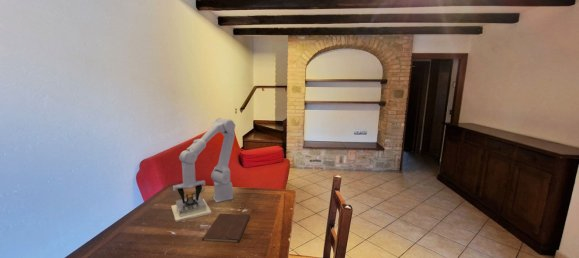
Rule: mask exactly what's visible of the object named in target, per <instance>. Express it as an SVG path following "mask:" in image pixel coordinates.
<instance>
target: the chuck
mask: <svg viewBox="0 0 579 258" xmlns="http://www.w3.org/2000/svg"><path fill="white" fill-rule="evenodd" d="M203 199H204V198H203V197H202V196H201V195H199V198H198V201H197V200H196V197H195V196H193V202H194V204H191V205H187V198H184V200H185V203H184V204H183V201H182V199H180V200H178V199H177V200H178V201H176V200H175V205H176V208H177V211H178V213H179V216H180V217H182V216H187V215H191V214H195V213H199V212H203V211H206V204H205V203H204V201H203Z"/></svg>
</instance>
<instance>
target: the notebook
mask: <svg viewBox="0 0 579 258" xmlns="http://www.w3.org/2000/svg"><path fill="white" fill-rule="evenodd" d="M250 218H251V215H250V214H246V213H241V214H237V213H219V214H218V215H217V216H216V218H215V220H214V221H213V223H212V224H211V225H210V227H209V228H208V230H207V232H206V233H205V234H204V236H203V237H202V238H201V239H202V241H208V242H210V241H211V242H212V241H213V242H227V243H239V242H240V241H241V238H242V236H243V234H244V231H245V229H246V227H247V225H248V222H249V220H250Z"/></svg>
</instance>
